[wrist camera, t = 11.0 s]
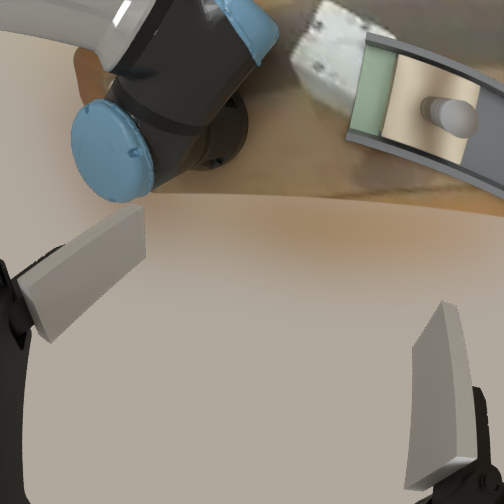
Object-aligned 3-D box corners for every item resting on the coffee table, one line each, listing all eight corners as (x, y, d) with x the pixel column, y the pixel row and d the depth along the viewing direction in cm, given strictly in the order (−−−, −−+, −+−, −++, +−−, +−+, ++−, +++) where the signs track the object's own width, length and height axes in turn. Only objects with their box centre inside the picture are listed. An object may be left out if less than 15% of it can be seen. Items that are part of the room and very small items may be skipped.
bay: (348, 133, 40) (345, 139, 35) (367, 39, 32) (366, 31, 28) (524, 203, 33) (540, 218, 29) (550, 120, 26) (570, 126, 21)
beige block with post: (379, 129, 37) (386, 157, 22) (394, 60, 32) (413, 37, 16) (447, 153, 35) (494, 199, 20) (464, 85, 30) (525, 88, 14)
